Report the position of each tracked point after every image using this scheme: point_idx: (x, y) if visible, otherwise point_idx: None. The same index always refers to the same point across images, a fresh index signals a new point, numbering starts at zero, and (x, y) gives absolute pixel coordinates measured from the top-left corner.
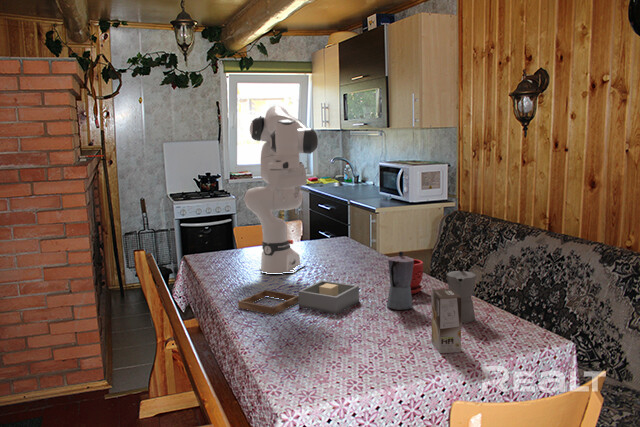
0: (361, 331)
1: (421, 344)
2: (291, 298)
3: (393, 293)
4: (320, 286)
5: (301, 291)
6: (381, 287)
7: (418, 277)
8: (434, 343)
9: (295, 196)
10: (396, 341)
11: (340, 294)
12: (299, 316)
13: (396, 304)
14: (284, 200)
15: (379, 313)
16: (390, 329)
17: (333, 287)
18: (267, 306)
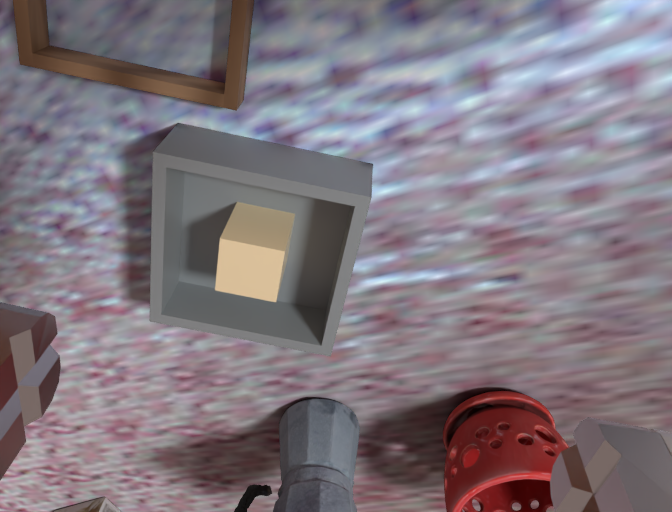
0: (76, 372)
1: (79, 483)
2: (182, 89)
3: (284, 456)
4: (224, 242)
5: (157, 167)
6: (538, 348)
7: (533, 486)
8: (80, 507)
9: (582, 483)
10: (64, 444)
11: (193, 324)
12: (85, 167)
13: (279, 436)
14: (56, 383)
15: (239, 386)
16: (130, 425)
17: (235, 293)
18: (22, 24)
